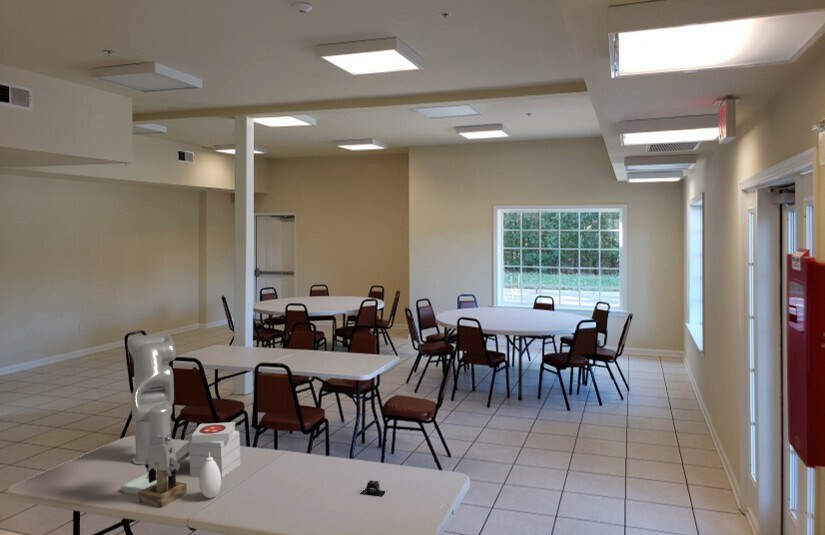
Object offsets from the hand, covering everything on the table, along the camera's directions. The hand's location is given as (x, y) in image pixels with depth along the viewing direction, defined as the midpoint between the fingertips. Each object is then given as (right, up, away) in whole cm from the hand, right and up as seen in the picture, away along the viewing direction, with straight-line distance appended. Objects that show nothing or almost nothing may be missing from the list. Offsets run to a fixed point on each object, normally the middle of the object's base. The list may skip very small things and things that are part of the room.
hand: (162, 483), depth 226 cm
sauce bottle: (+18, -6, 0) cm, 19 cm away
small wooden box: (0, -6, 0) cm, 6 cm away
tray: (-11, -6, +10) cm, 16 cm away
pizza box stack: (+6, -4, +28) cm, 29 cm away
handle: (0, -6, 0) cm, 6 cm away
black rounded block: (+80, -5, +2) cm, 81 cm away
